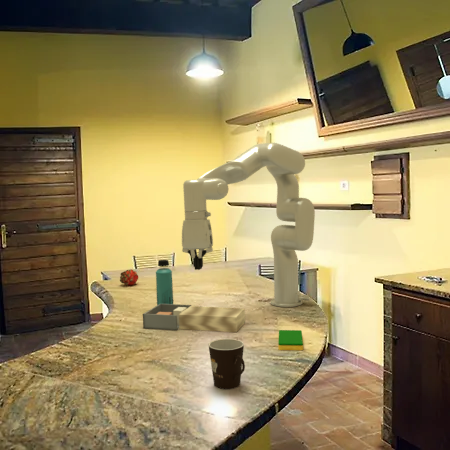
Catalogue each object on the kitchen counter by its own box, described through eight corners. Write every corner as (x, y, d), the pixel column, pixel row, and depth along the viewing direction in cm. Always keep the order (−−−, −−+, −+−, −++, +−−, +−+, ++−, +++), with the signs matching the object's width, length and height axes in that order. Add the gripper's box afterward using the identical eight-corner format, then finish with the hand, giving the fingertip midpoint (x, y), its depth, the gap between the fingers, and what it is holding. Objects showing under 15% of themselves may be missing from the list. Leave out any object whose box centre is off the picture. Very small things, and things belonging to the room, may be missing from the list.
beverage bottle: (171, 313, 196) (169, 261, 195) (154, 313, 198) (152, 261, 196) (176, 309, 203) (174, 258, 201) (159, 308, 204) (158, 258, 202)
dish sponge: (301, 337, 164) (301, 329, 164) (303, 351, 150) (302, 343, 150) (279, 337, 165) (278, 329, 165) (278, 351, 151) (278, 343, 151)
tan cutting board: (244, 322, 181) (244, 308, 181) (236, 332, 170) (236, 317, 169) (191, 319, 187) (190, 306, 186) (179, 329, 175) (178, 314, 175)
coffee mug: (208, 378, 131) (207, 339, 130) (242, 376, 131) (241, 338, 130) (211, 397, 119) (210, 355, 118) (248, 395, 120) (247, 353, 119)
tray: (191, 318, 188) (191, 305, 188) (176, 330, 174) (176, 315, 173) (160, 316, 192) (160, 303, 191) (143, 328, 177) (142, 314, 177)
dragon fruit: (122, 291, 247) (132, 289, 258) (136, 280, 246) (145, 279, 257) (113, 276, 248) (123, 275, 260) (126, 266, 247) (136, 265, 259)
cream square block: (186, 307, 182) (178, 307, 183) (181, 310, 178) (173, 310, 178) (187, 321, 183) (179, 320, 184) (181, 325, 178) (173, 324, 179)
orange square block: (158, 311, 185) (159, 320, 185) (154, 315, 180) (154, 323, 180) (172, 312, 184) (172, 320, 184) (167, 315, 179) (168, 324, 179)
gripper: (219, 214, 178) (222, 267, 180) (179, 215, 182) (181, 266, 184) (213, 216, 171) (216, 271, 173) (171, 217, 175) (174, 270, 177)
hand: (198, 268), depth 178 cm, fingers closed
